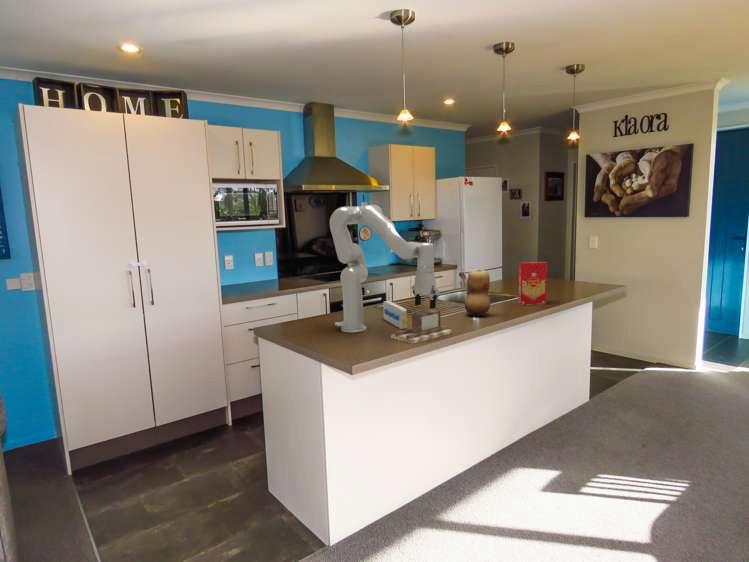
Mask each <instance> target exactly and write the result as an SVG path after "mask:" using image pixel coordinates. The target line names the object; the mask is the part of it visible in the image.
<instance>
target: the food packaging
mask: <svg viewBox="0 0 749 562" xmlns="http://www.w3.org/2000/svg"><path fill="white" fill-rule="evenodd" d="M547 276H548V262H546V261H534V262H533V261H531V262H529V261H527V262H525V261H523V262H519V263H518V303H520V304H537V303H546V304H547V286H548V285H547V280H548V279H547Z"/></svg>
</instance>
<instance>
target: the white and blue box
mask: <svg viewBox="0 0 749 562" xmlns="http://www.w3.org/2000/svg"><path fill="white" fill-rule="evenodd" d="M382 305H383V307H382V308H383V310H382V311H383V319H384V320H385V321H387V322H389V323H390V324H391V325H393V324H394V325H393V326H395V327H397V328H398V327H399V328H398V329H399V330H404V329H405V330H407V328H408V323H409V319H408V318H407V317H408V315H407V314H408V313H407V309H406V308H405V307H403V306H400V305H398V304H397V303H394V302H392V301H390V300H387V301H386V300H385V301H383V304H382Z"/></svg>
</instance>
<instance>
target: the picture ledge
mask: <svg viewBox="0 0 749 562" xmlns="http://www.w3.org/2000/svg"><path fill="white" fill-rule="evenodd" d="M453 332H454V331H453V329H449V325H444V326H440V327H439V328H435V329H431V330H427V331H423V332H419V333H415V334H414V333H412V328H408V329H405V330H404V329H402V330H399V331H394V334H390V339H393V338H394V339H393V340H396V339H398V340H397V341H400V340H401V341H400V342H403V341H405V342H404V343H407V342H408V344H410V343H411V345H413V343H414V344H416V343H417V342H418V343H421V342H425V341H428V340H433V339H436V338H439V337H442V336H443V337H444V336H447V334H448V335H451V334H450V333H452V334H454V333H453Z"/></svg>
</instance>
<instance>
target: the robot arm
mask: <svg viewBox="0 0 749 562" xmlns="http://www.w3.org/2000/svg"><path fill="white" fill-rule="evenodd" d="M356 224H357V225H359V224H366V225H367V226H368V227H369V228H370V229H372V230H373V232H375V233H376V234H377V235H378V236H379V237H380V238H381V239H382V240H383V243H385V245H386V246H387V247H388V248H389V249H390V250H391V251H392V252H393V253H394V254H395V255H396V256H398V257H399V258H401V259H402V260H410V259H414V258H417V266H416V270H417V271H416V272H415V277H414V285H412V286H411V290H412V293H413V297H414V305H415V306H420V305H421V304H422V303H421V302H422V299H421V298H422V297H421V296H425V297H427V296H429V298H430V300H429V310H433V309H436V307H437V299H438V298H439V297H440V296H439V295H440V294H441V291H440V289H438V288H437V283H436V275H435V244H434V243H432V242H417V241H407V240H405V239H404V238H403V237H402V236H401V235H400V234H399V233H398V232H397V230H396V226H395V224H394V222H392V221H391V220H390V218H388V217H387V216H386V215H384V211H383V209H382V208H381V207H380V206H379V205H377V204H367V205H360V206H359V205H358V206H340V207H338V208H336V209H335V210H334V211H333V212H332V214H331V216H330V218H329V229H330V232H331V235H332V239H333V244H334V248H335V252H336V255H337V259H338V262H340V263H342V264H347V266H346V267H345V268H343V269H342V271H341V273H340V283H341V284H340V285H341V289H342V304H343V305H342V306H343V307H342V308H343V320H341V321H335V322H334V326H335V327H341V328H340V330H341V332H344V333H351V334H352V333H354V334H355V333H363V332H365V331H367V326H366V325H364V306H363V305H364V302H363V289H362V285H361V283H363V282H365V281H366V280H367V278H368V276H369V275H368V274H369V271H368V266H367V262H366V258H365V255H364V251H363V249H362V247H361V246H360V245H359V244H357V243H356V242H355V243H354V242H353V240H352V237H351V232H350V231H349V228H348V225H356Z"/></svg>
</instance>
